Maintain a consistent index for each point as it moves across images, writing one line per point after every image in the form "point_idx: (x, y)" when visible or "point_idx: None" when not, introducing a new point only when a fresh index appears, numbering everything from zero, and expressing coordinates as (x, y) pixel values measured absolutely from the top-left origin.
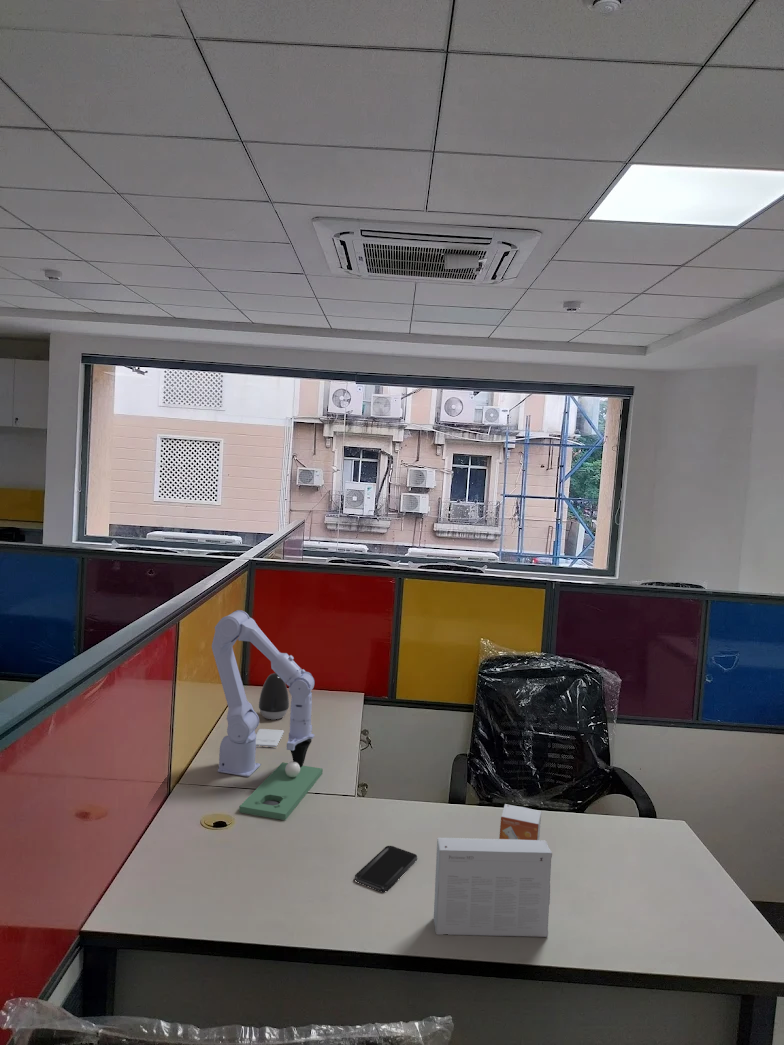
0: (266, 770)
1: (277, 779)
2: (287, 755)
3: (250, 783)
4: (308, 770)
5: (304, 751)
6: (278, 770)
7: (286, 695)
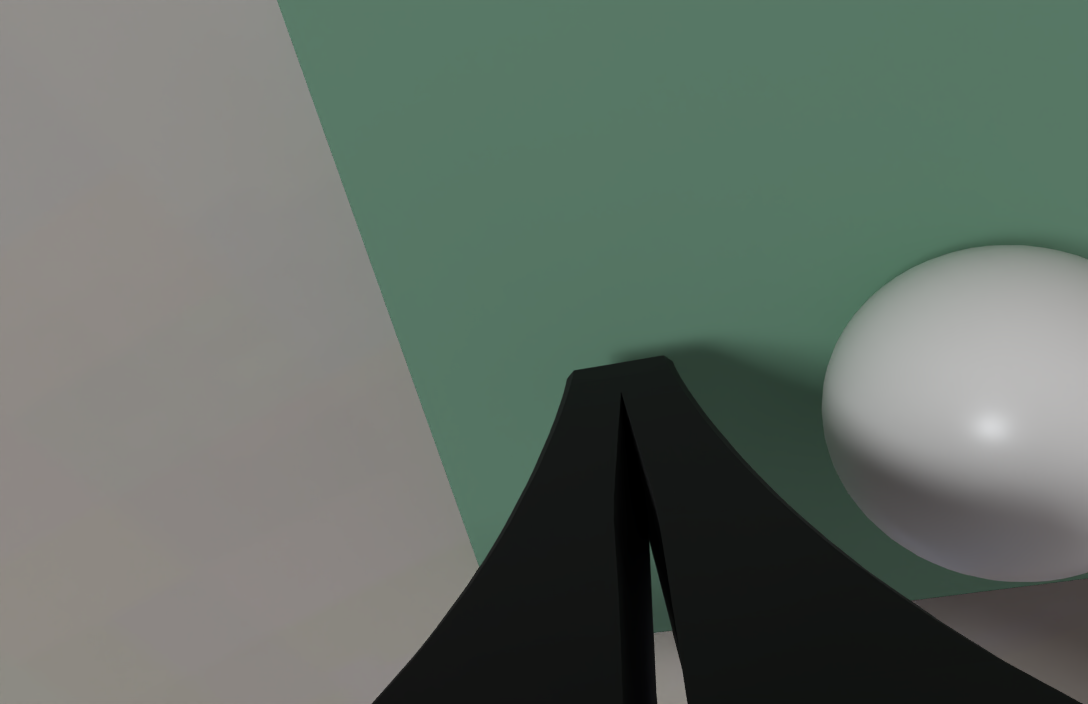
0: (681, 666)
1: None
2: (183, 682)
3: (1081, 639)
4: (544, 214)
5: (835, 606)
6: None
7: None
